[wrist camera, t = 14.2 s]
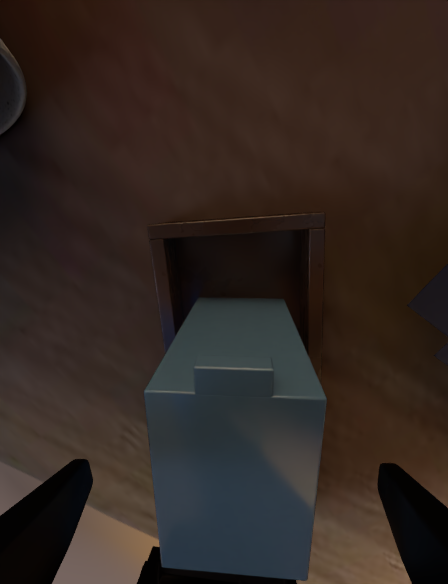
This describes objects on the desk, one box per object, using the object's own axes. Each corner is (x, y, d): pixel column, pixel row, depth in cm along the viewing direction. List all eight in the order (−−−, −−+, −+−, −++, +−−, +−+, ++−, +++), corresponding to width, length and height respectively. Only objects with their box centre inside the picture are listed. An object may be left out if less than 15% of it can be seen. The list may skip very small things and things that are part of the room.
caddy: (309, 416, 21) (319, 449, 18) (187, 416, 21) (178, 448, 19) (312, 212, 17) (325, 211, 14) (163, 222, 18) (146, 224, 15)
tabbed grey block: (285, 284, 18) (331, 371, 8) (277, 427, 20) (304, 616, 11) (197, 283, 18) (139, 365, 8) (202, 423, 21) (164, 602, 11)
